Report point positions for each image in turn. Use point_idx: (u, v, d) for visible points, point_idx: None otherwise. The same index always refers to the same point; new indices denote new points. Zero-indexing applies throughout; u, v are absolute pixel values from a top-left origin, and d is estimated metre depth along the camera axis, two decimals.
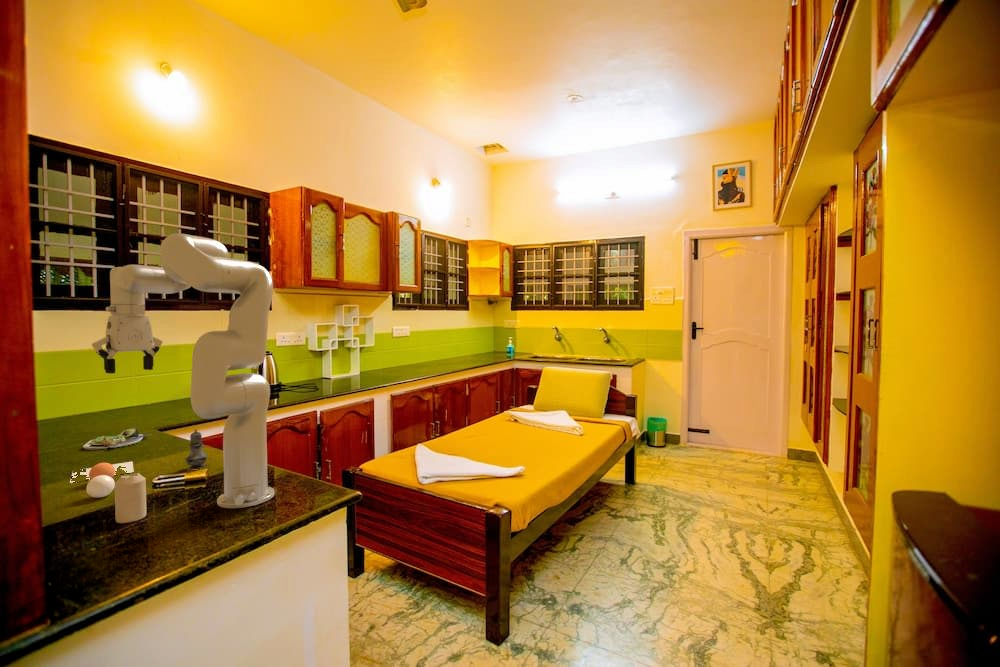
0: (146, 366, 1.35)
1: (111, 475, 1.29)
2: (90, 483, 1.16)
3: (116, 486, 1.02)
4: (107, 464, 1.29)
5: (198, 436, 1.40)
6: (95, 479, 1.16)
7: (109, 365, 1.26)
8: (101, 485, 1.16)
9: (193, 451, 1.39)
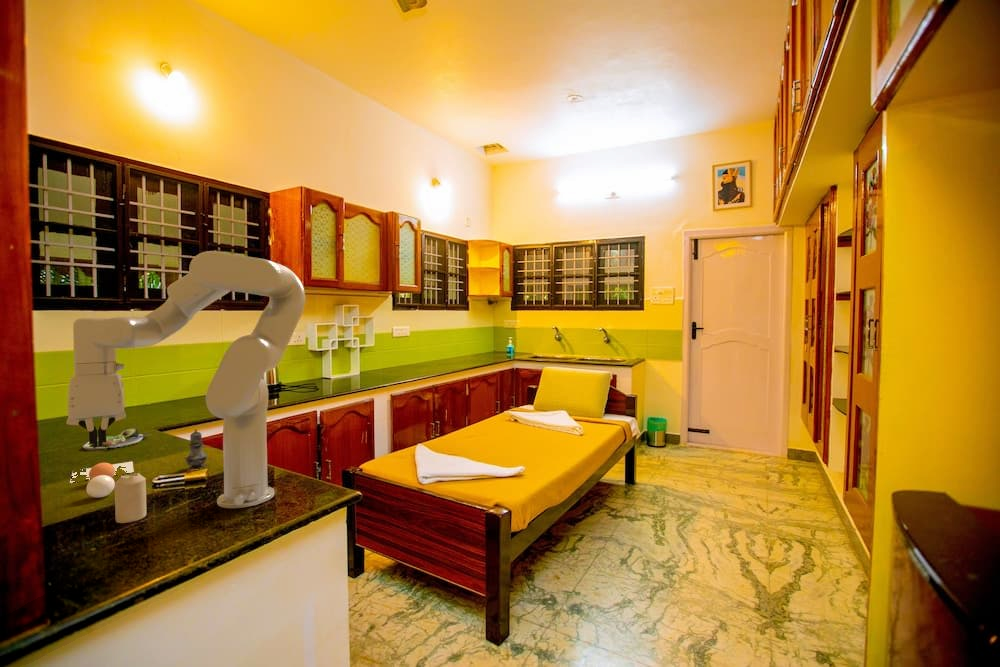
0: (97, 442, 1.10)
1: (111, 475, 1.29)
2: (90, 483, 1.16)
3: (116, 486, 1.02)
4: (107, 464, 1.29)
5: (198, 436, 1.40)
6: (95, 479, 1.16)
7: None
8: (101, 485, 1.16)
9: (193, 451, 1.39)
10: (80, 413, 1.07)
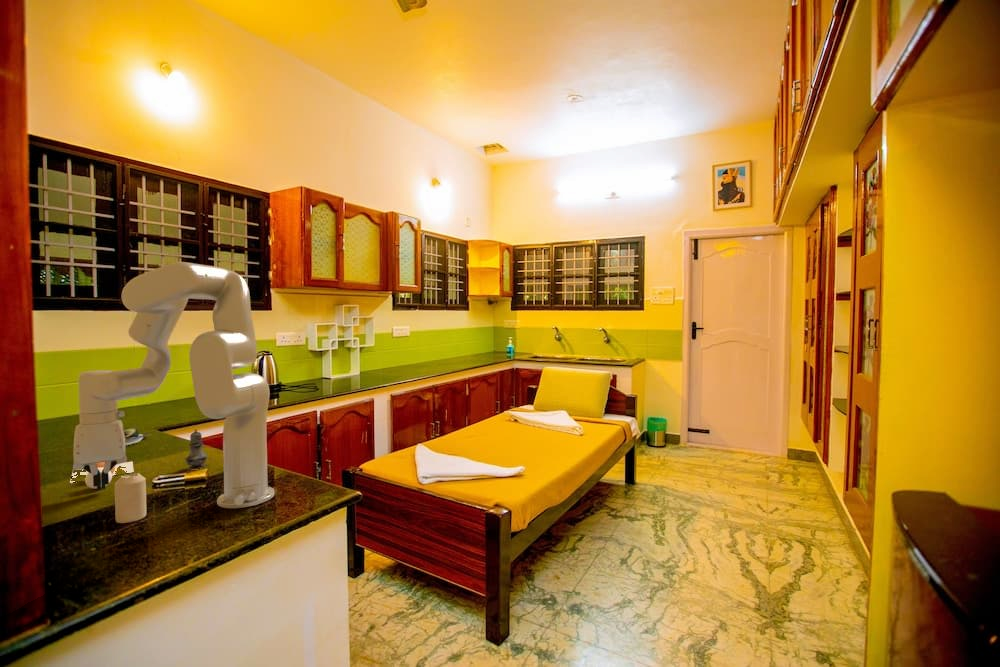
0: None
1: None
2: None
3: (116, 486, 1.02)
4: None
5: (198, 436, 1.40)
6: None
7: None
8: None
9: (193, 451, 1.39)
10: (85, 459, 1.17)
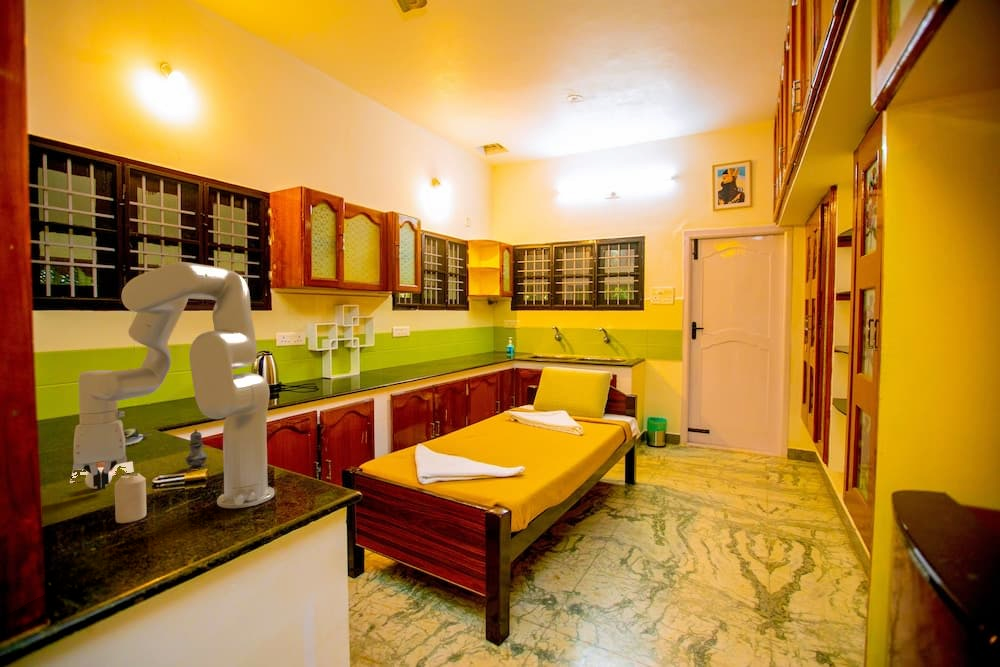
0: None
1: None
2: None
3: (116, 486, 1.02)
4: None
5: (198, 436, 1.40)
6: None
7: None
8: None
9: (193, 451, 1.39)
10: (85, 459, 1.17)
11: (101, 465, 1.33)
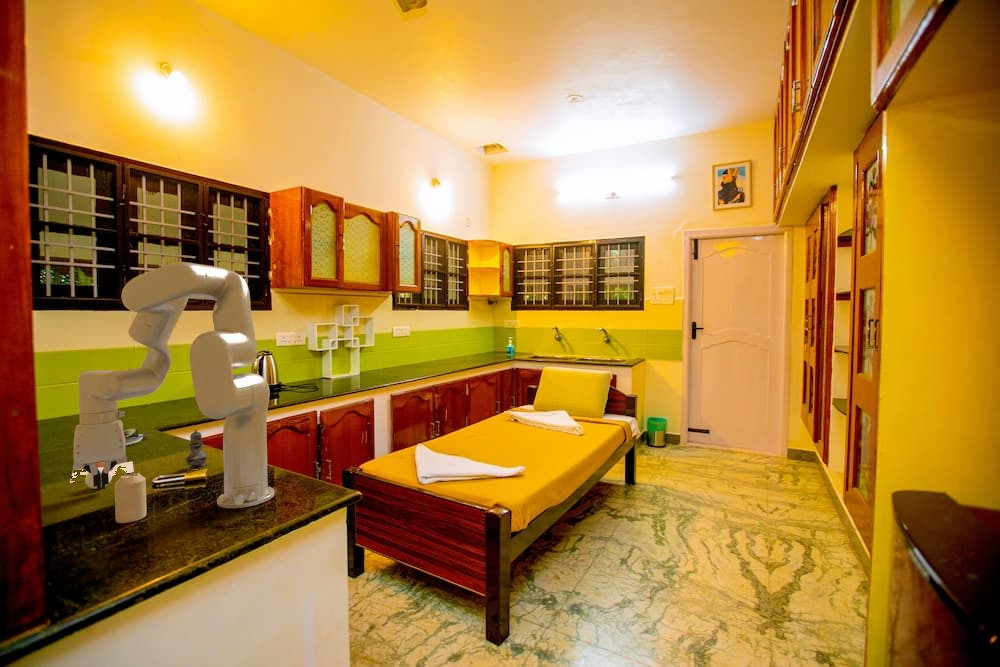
0: None
1: None
2: None
3: (116, 486, 1.02)
4: None
5: (198, 436, 1.40)
6: None
7: None
8: None
9: (193, 451, 1.39)
10: (85, 459, 1.17)
11: (101, 465, 1.33)
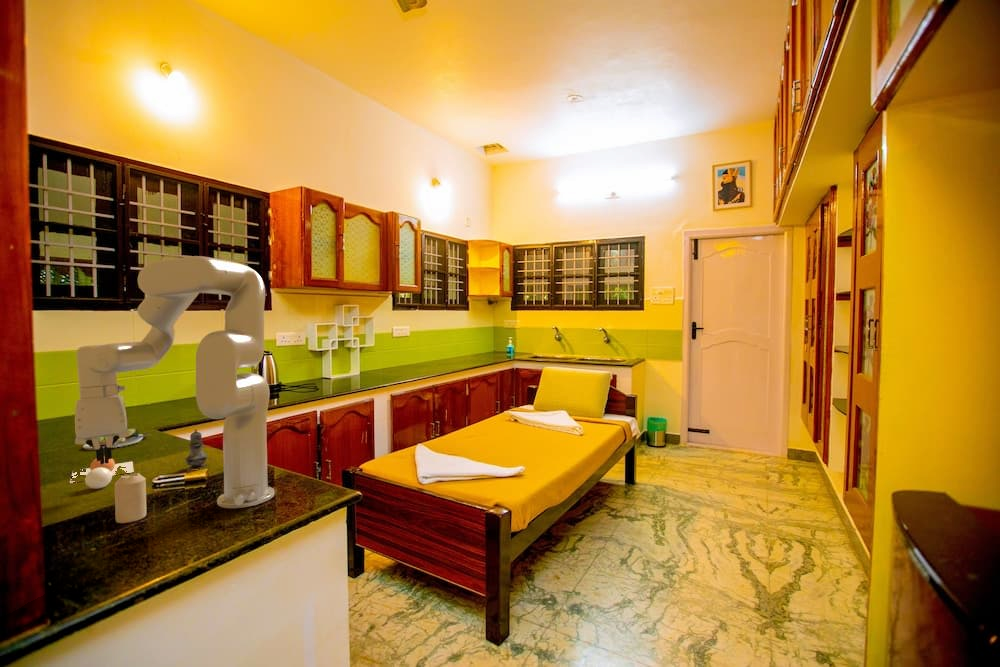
0: None
1: None
2: None
3: (116, 486, 1.02)
4: None
5: (198, 436, 1.40)
6: None
7: None
8: None
9: (193, 451, 1.39)
10: (87, 433, 1.16)
11: (101, 465, 1.33)
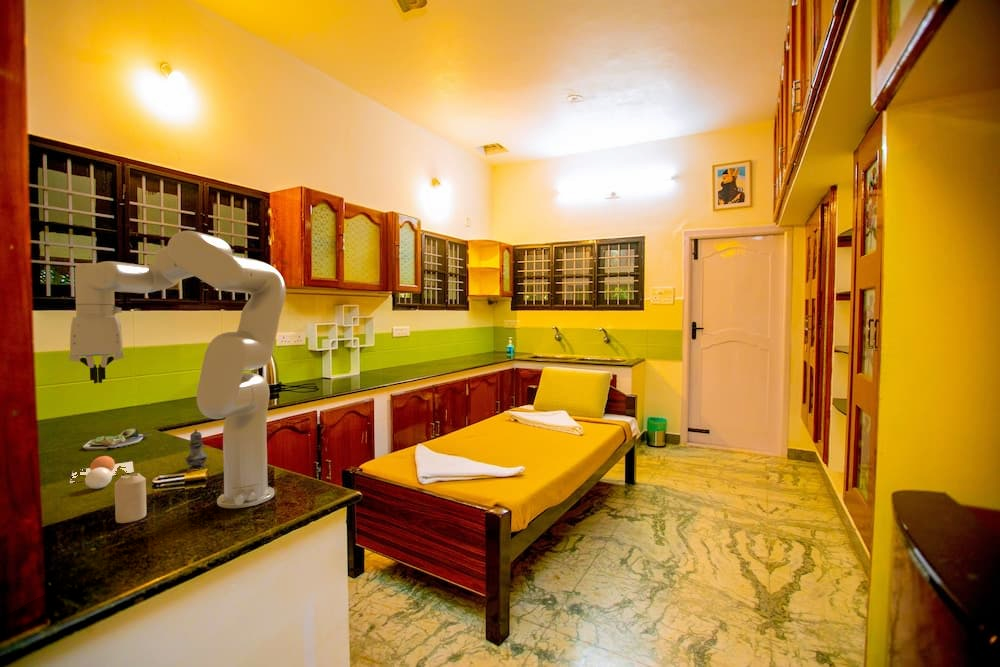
0: (97, 379, 1.19)
1: None
2: None
3: (116, 486, 1.02)
4: None
5: (198, 436, 1.40)
6: None
7: None
8: None
9: (193, 451, 1.39)
10: (81, 350, 1.16)
11: (101, 465, 1.33)
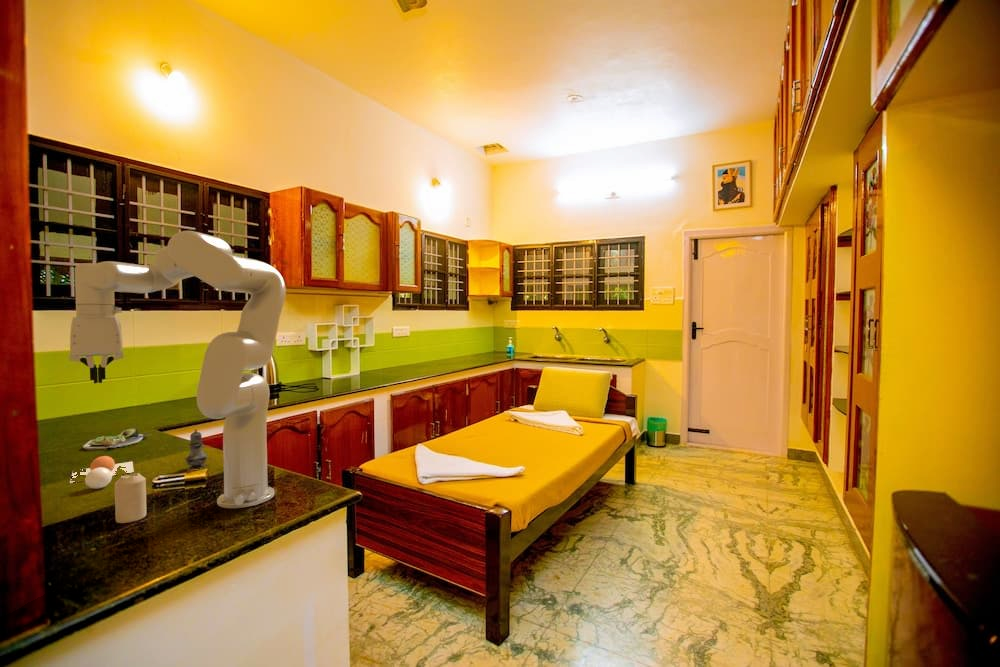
0: (97, 379, 1.19)
1: None
2: None
3: (116, 486, 1.02)
4: None
5: (198, 436, 1.40)
6: None
7: None
8: None
9: (193, 451, 1.39)
10: (81, 350, 1.16)
11: (101, 465, 1.33)
